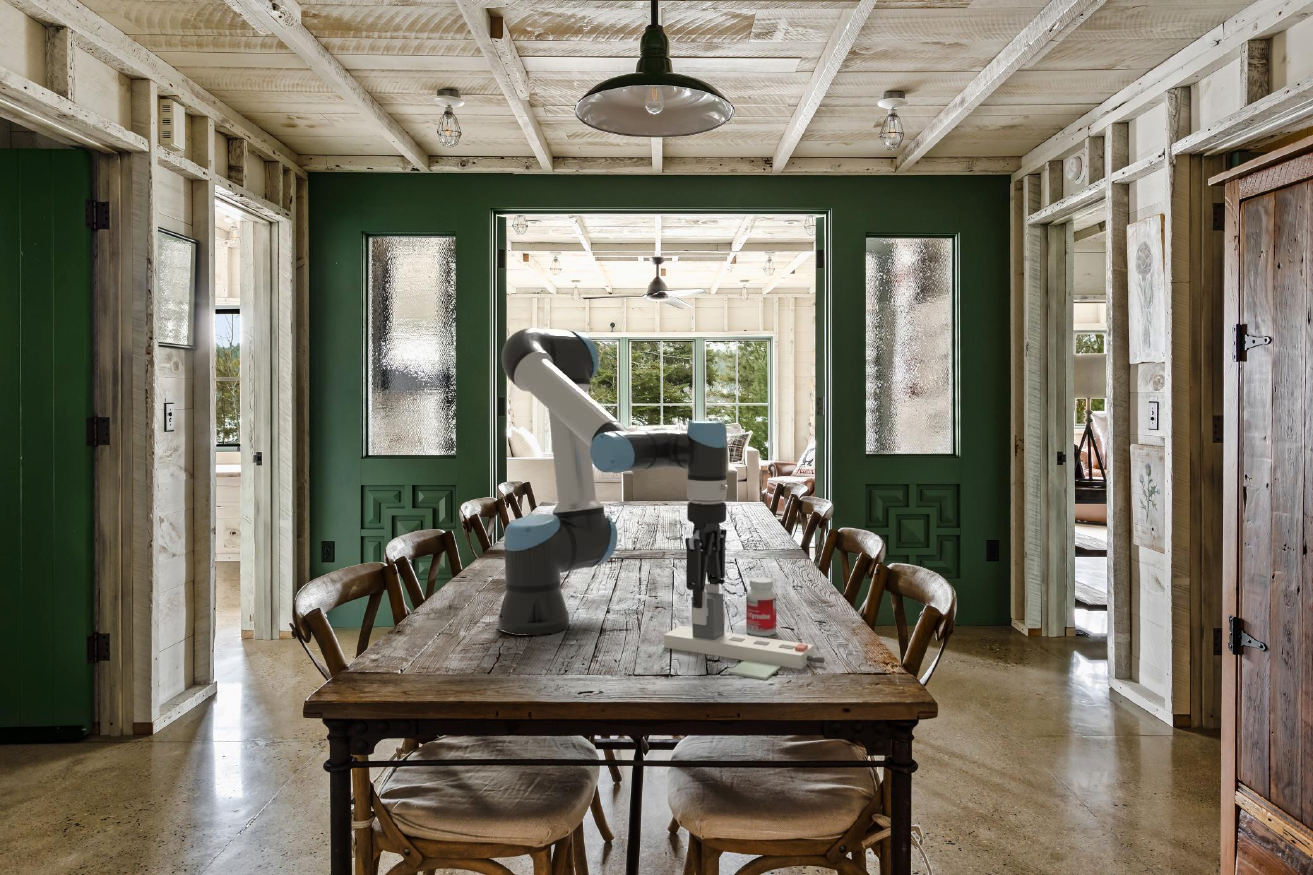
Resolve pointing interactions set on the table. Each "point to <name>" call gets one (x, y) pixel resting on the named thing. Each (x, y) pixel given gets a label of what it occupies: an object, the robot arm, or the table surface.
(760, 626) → the pill bottle
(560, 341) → the robot arm
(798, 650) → the power strip
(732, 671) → the felt pad
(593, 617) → the table surface
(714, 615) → the block
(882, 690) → the table surface
